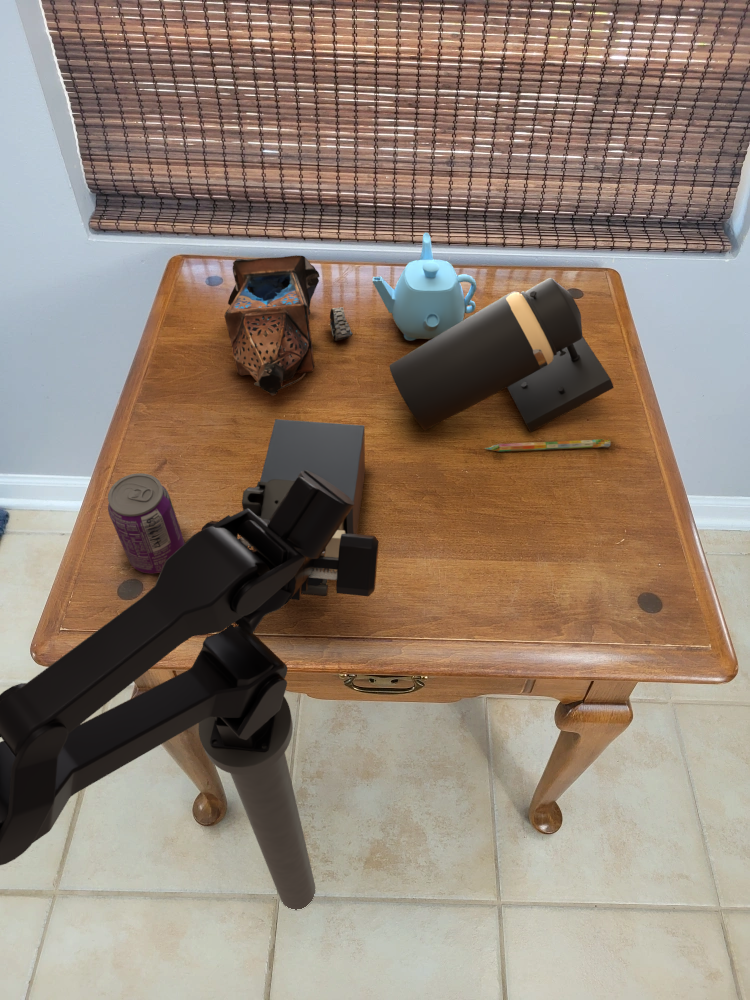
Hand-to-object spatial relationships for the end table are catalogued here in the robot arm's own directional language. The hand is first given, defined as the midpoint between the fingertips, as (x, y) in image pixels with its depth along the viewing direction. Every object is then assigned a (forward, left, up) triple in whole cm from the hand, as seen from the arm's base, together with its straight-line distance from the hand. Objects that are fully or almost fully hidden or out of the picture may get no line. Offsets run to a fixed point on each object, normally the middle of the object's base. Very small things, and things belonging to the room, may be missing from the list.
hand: (301, 545), depth 89 cm
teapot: (+51, -12, -7) cm, 53 cm away
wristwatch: (+47, +1, -7) cm, 48 cm away
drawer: (+4, 0, -6) cm, 8 cm away
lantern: (+40, +11, -7) cm, 42 cm away
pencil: (+25, -31, -7) cm, 40 cm away
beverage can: (+2, +19, -7) cm, 21 cm away
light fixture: (+33, -23, -7) cm, 41 cm away
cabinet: (+11, 0, -7) cm, 13 cm away
